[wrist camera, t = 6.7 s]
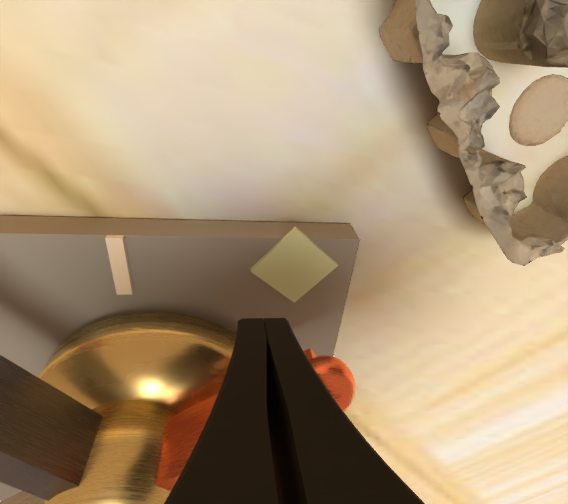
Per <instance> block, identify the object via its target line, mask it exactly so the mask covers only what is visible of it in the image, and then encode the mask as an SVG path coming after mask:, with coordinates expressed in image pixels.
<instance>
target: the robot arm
mask: <svg viewBox="0 0 568 504" xmlns="http://www.w3.org/2000/svg"><path fill="white" fill-rule="evenodd" d="M164 504H425V503H424V502H423V501H422V500H421V499H420V498H419V497H418V496H417V495H416V494H415V493H414V492H413V491H412V490H411V489H410V488H409V487H408V486H407V485H406V484H405V483H404V482H403V481H402V480H401V478H400V477H399V476H398V475H397V474H396V473H395V472H394V471H393V470H392V469H391V468H390V467H389V466H388V465H387V464H386V463H385V462H384V460H383V459H382V458H381V457H380V456H379V455H378V454H377V452H376V451H375V450H374V449H373V448H372V447H371V446H370V444H369V443H368V442H367V441H366V440H365V438H364V437H363V436H362V435H361V434H360V432H359V431H358V430H357V429H356V427H355V426H354V425H353V424H352V422H351V421H350V420H349V418H348V417H347V416H346V415H345V413H344V412H343V411H342V409H341V408H340V406H339V405H338V404H337V402H336V401H335V399H334V398H333V397H332V395H331V394H330V392H329V391H328V390H327V388H326V387H325V385H324V384H323V382H322V381H321V379H320V377H319V376H318V374H317V373H316V371H315V370H314V368H313V366H312V365H311V363H310V362H309V360H308V358H307V357H306V355H305V353H304V351H303V350H302V348H301V346H300V344H299V342H298V340H297V339H296V337H295V335H294V333H293V331H292V329H291V326H290V324H289V322H288V320H287V319H285V318H264V321H263V318H245V319H241V320H239V321H238V326H237V335H236V340H235V345H234V349H233V352H232V356H231V359H230V362H229V365H228V368H227V371H226V374H225V377H224V380H223V383H222V386H221V388H220V391H219V393H218V396H217V398H216V401H215V403H214V405H213V408H212V410H211V413H210V415H209V417H208V420H207V422H206V424H205V426H204V428H203V430H202V433H201V435H200V437H199V439H198V441H197V443H196V445H195V447H194V449H193V451H192V453H191V455H190V457H189V459H188V461H187V463H186V464H185V466H184V468H183V470H182V472H181V474H180V476H179V478H178V479H177V481H176V483H175V485H174V487H173V489H172V490H171V492H170V494H169V496H168V497H167V499H166V501H165V503H164Z"/></svg>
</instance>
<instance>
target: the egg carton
mask: <svg viewBox="0 0 568 504" xmlns="http://www.w3.org/2000/svg"><path fill="white" fill-rule="evenodd" d="M452 27H453V25H452V23H451V21H450V19H449V17H448V16H446V15H442V14H437V12H436V11H435V9H434V8H433V7H432V4H431V2H430V0H396V1H395V4H394V6H393V9H392V11H391V13H390V14H389V16H388V17H387V19H386V21H385V22H384V23H383V25H382V26H381V27H380V28H379V35H380V37H381V39H382V41H383V43H384V45H385V47H386V49H387V51H388V53H389V55H390V56H391V58H392V59H393V60H395V61H401V62H411V63H423V71H424V74H425V77H426V80H427V83H428V85H429V87H430V90H431V92H432V93H433V94H434V95H435V96H436V97H437V98H438V99H439V102H440V104H439V106H438V108H437V111H438V112H437V114H436V115H435V117H434V118H433V119H432V120H431V121H430V122H429V123H428V125H427V129H428V131H429V134H430V135H431V137H432V139H433V141H434V143H435V145H436V146H437V148H439V149H440V150H442V151H445V152H446V153H448V154H450V155H452V156H454V157H458V158H459V159H460V160H461V163H462V165H463V167H464V169H465V172H466V174H467V177H468V179H469V182H470V184H471V187H472V190H471V191H470V192H469V193H468V194H467V195H466V196H465V197H464V201H465V204H466V206H467V208H468V210H469V212H470V213H471V214H472V216H473V217H475V218H476V219H478V220H480V221H481V222H483V223H484V224H485V225H486V226H487V227H488V229H489V230H490V232H491V234H492V235H493V237H494V238H495V240H496V242H497V243H498V245H499V246H500V248H501V250H502V251H503V253H504V254H505V256H506V257H507V259H508V260H510V261H511V262H513V263H516V264H520V265H523V266H525V265H527V264H528V263H530V262H531V261H533V260H535V259H536V258H539V257H543V256H547V255H550V254H554V253H560V252H562V251H563V250H564V249H565V248H563V247H562V246H560V245H562V244H563V243H564V242H565V241H567V240H568V156H566V157H564V158H562V159H560V160H558V161H557V162H555V163H554V164H553V165H552V166H550V167H549V168H548V169H547V170H546V171H545V172H544V173H543V174H542V175H541V177H540V178H539V180H538V181H537V183H536V186H535V189H534V194H533V203H532V204H530V205H529V206H528V207H526V208H524V209H522V210H520V211H518V212H517V213H515V214H513V212H514V208H515V207H516V206H517V204H518V203H519V202H520V201H521V200H523V199H525V198H527V197H526V195H525V193H524V180H523V177H522V175H521V171H522V170H523V169H524V168H526V167H525V165H522V164H519V163H515V162H511V161H509V160H506V159H503V158H501V157H498V156H496V155H494V154H491V153H489V152H487V151H484V150H482V149H481V148H483V147H484V146H485V145H484V140H483V136H482V134H481V127H482V124H483V123H484V122H485V121H486V120H488V119H490V118H491V117H492V116H493V115H494V113H495V112H496V111H497V110H498V108H499V107H500V106H499V105H498V103H497V102H496V101H495V99H494V98H493V97H492V96H491V95H492V88H494V87H495V86H496V85H497V84H499V83H500V80H499V77H498V76H497V74H496V73H495V72H494V70H493V67H492V66H491V65H490V63H489V62H488V61H487V60H486V59H485V58H484V57H482V56H480V55H479V53H466V54H461V55H443V54H442V52H443V51H444V50H445V49H446V48H447V47H448V46H449V36H448V33H449V31H450V30H451V28H452ZM473 35H474V41H475V44H476V46H477V49H478V51H479V52H480V53H482V54H483V55H484V56H485V57H487V58H489V59H492V60H495V61H499V62H504V63H511V64H523V65H532V66H542V67H567V68H568V0H482V1H481V3H480V5H479V8H478V11H477V13H476V16H475V20H474V26H473ZM567 120H568V78H566V77H564V76H561V75H554V74H552V75H548V76H544V77H542V78H540V79H538V80H536V81H534V82H533V83H532V84H530V85H529V86H528V87H527V88H526V89H525V90H524V91H523V92H522V94H521V95H520V97H519V98H518V99H517V101H516V102H515V104H514V106H513V109H512V112H511V115H510V122H509V130H510V134H511V136H512V138H513V139H514V140H515V141H516V142H518V143H519V144H522V145H527V146H535V145H539V144H542V143H544V142H546V141H547V140H549V139H550V138H552V137H553V136H554V135H556V134H557V133H559V132H560V131H561V129H562V127H563V126H564V125H565V123H566V121H567ZM512 214H513V215H512Z"/></svg>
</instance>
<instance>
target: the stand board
mask: <svg viewBox="0 0 568 504" xmlns="http://www.w3.org/2000/svg"><path fill="white" fill-rule="evenodd" d="M359 241H360V239H359V237H358V236H357V234H356V233H355V231H354V229H353V228H352V226H351V225H350V224H342V223H301V222H259V221H218V220H177V219H135V218H94V217H52V216H11V215H0V355H1V356H3V357H5V358H6V359H8V360H10V361H11V362H13V363H15V364H16V365H18V366H20V367H21V368H23V369H25V370H26V371H28V372H30V373H31V374H33V375H35V376H36V377H38V376H39V375H40V373H41V371H42V369H43V368H44V366H45V364H46V362H47V361H48V359H49V357H50V356H51V354H52V353H53V352H54V350H55V349H56V348H57V347H58V346H59V345H60V344H61V343H62V342H63V341H64V340H65V339H67V338H68V337H69V336H71V335H72V334H74V333H75V332H77V331H79V330H81V329H83V328H85V327H87V326H89V325H91V324H93V323H96V322H99V321H102V320H104V319H108V318H112V317H116V316H121V315H127V314H135V313H151V312H160V313H175V314H181V315H187V316H193V317H196V318H200V319H204V320H207V321H210V322H213V323H215V324H218V325H221V326H223V327H225V328H227V329H229V330H231V331H233V332H234V333H236V334H237V326H238V321H239V320H241V319H245V318H263V321H264V318H285V319H287V320H288V322H289V324H290V326H291V329H292V331H293V333H294V335H295V337H296V339H297V340H298V342H299V344H300V346H301V348H302V350H303V351H305V350H307V349H309V348H311V349H312V351H313V352H314V353H315V354H316V356H321V355H328V356H333V353H334V348H335V344H336V340H337V335H338V331H339V327H340V322H341V318H342V314H343V310H344V305H345V301H346V297H347V292H348V288H349V284H350V279H351V275H352V271H353V266H354V262H355V258H356V254H357V249H358V245H359ZM21 491H22V490H19V489H17V488H14V487H12V486H9V485H6V484H4V483H1V482H0V500H1V501H3V500H5V499H7V498H9V497H11V496H13V495H15V494H17V493H19V492H21Z"/></svg>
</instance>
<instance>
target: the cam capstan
mask: <svg viewBox="0 0 568 504" xmlns="http://www.w3.org/2000/svg"><path fill="white" fill-rule="evenodd" d="M236 335H237V334H236V333H234V332H233V331H231V330H229V329H227V328H225V327H223V326H221V325H218V324H215V323H213V322H210V321H207V320H204V319H200V318H196V317H193V316H187V315H181V314H175V313H160V312H151V313H135V314H127V315H121V316H116V317H112V318H108V319H104V320H102V321H99V322H96V323H93V324H91V325H89V326H87V327H85V328H83V329H81V330H79V331H77V332H75V333H74V334H72V335H71V336H69V337H68V338H67V339H65V340H64V341H63V342H62V343H61V344H60V345H59V346H58V347H57V348H56V349H55V350H54V352H53V353H52V354H51V356H50V357H49V359H48V361H47V362H46V364H45V366H44V368H43V369H42V371H41V373H40V375H39V376H38V377H36V376H35V375H33V374H31V373H30V372H28V371H26V370H25V369H23V368H21V367H20V366H18V365H16V364H15V363H13V362H11V361H10V360H8V359H6V358H5V357H3V356H1V355H0V482H1V483H4V484H6V485H9V486H12V487H14V488H17V489H19V490H22V491H21V492H19V493H17V494H15V495H13V496H11V497H9V498H7V499H5V500H3V501H1V502H0V504H164V503H165V501H166V499H167V497H168V496H169V494H170V492H171V490H172V489H173V487H174V485H175V483H176V481H177V479H178V478H179V476H180V474H181V472H182V470H183V468H184V466H185V464H186V463H187V461H188V459H189V457H190V455H191V453H192V451H193V449H194V447H195V445H196V443H197V441H198V439H199V437H200V435H201V433H202V430H203V428H204V426H205V424H206V422H207V420H208V417H209V415H210V413H211V410H212V408H213V405H214V403H215V401H216V398H217V396H218V393H219V391H220V388H221V386H222V383H223V380H224V377H225V374H226V371H227V368H228V365H229V362H230V359H231V356H232V352H233V349H234V345H235V340H236ZM304 353H305V355H306V357H307V358H308V360H309V362H310V363H311V365H312V366H313V368H314V370H315V371H316V373H317V374H318V376H319V377H320V379H321V381H322V382H323V384H324V385H325V387H326V388H327V390H328V391H329V392H330V394H331V395H332V397H333V398H334V399H335V401H336V402H337V404H338V405H339V406H340V408H341V409H342V411H343V412H344V411H345V410H346V409H347V408H348V407H349V406H350V404H351V402H352V400H353V398H354V393H355V382H354V378H353V375H352V373H351V371H350V369H349V368H348V367H347V365H346V364H345V363H344V362H342V361H341V360H339V359H338V358H336V357H333V356H328V355H321V356H316V354H315V353H314V352H313V351H312V349H311V348H309V349H307V350H305V351H304Z"/></svg>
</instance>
